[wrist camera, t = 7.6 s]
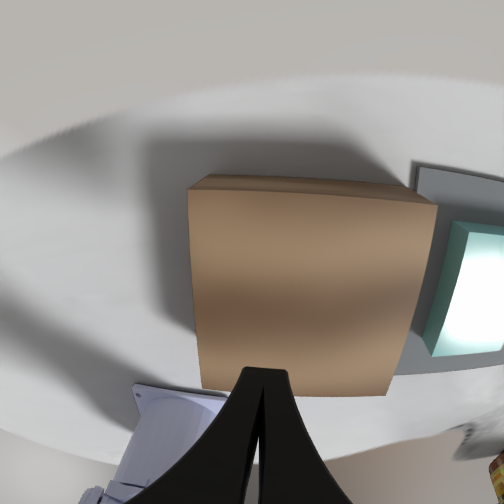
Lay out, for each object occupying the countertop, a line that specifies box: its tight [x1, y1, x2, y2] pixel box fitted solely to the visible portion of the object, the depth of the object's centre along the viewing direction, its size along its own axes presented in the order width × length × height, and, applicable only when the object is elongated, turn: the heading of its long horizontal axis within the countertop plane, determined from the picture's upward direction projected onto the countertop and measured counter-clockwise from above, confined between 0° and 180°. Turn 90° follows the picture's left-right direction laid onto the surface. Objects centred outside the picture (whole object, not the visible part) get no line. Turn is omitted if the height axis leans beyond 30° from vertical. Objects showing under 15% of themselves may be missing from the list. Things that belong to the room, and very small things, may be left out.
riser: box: [187, 175, 438, 397], centre depth 16 cm, size 11×10×4 cm
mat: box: [394, 166, 504, 375], centre depth 17 cm, size 14×14×1 cm
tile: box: [422, 220, 504, 357], centre depth 16 cm, size 8×6×2 cm
